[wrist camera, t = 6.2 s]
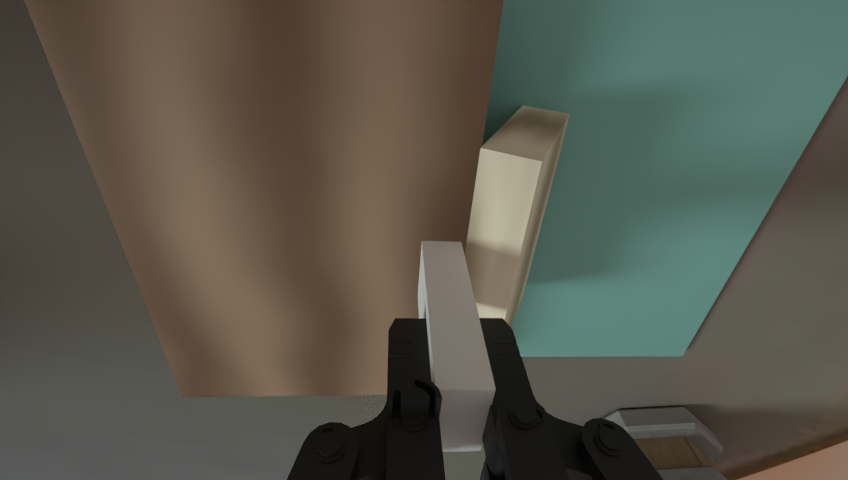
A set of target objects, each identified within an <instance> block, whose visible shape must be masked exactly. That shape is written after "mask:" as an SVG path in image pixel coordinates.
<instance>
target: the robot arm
mask: <svg viewBox="0 0 848 480" xmlns="http://www.w3.org/2000/svg"><path fill="white" fill-rule="evenodd" d="M418 311H419V318H395V320H394V321H393V323H392V325H391V327H390V328H389V333H388V372H387V402H386V405H385V407H384V409H383V410H382V412H381V413H380V414H379V415H378V416H377V417H376V418H374V419H373V420H371V421H369V422H367V423H365V424H362V425H359V426H356V427H353V428H350V427H349V426H347V425H344V424H342V423H331V422H330V423H327V424H324V425H320V426H318V427H317V428H316V429H314V430H313V431H312V432H310V434H309V435H308V437H307V438H306V439H305V441H304V443H303V445H302V447H301V449H300V452H299V454H298V456H297V458H296V461H295V463H294V465H293V467H292V469H291V472H290V474H289V476H288V478H287V480H445V472H444V462H443V452H444V451H481V447H482V443H483V444H484V449H485V455H486V458H485V462H484V466H483V470H482V473H481V477H480V480H663V479H662V477H661V476H660V475H659V473H658V472H657V470H656V469H655V468H654V466H653V465H652V464H651V462H650V461H649V460H648V458H647V457H646V456H645V454H644V453H643V452H642V450H641V449H640V448H639V446H638V445H637V444H636V442H635V441H634V440H633V438H632V437H631V436H630V435H629V434H628V433H627V431H626V430H625V429H624V428H623V427H621V426H619V425H618V424H616V423H614V422H613V421H610V420H606V419H603V418H599V419H592V420H590V421H588V422H586V423H585V425H584V427H583V426H580V425H576V424H573V423H569V422H566V421H563V420H560V419H557V418H555V417H553V416H551V415H550V414H548V413H547V412H546V411H545V409H544V408H543V407H542V406H541V405H540V404H539V403H538V402H537V401H536V400H535V397H534V395H533V392H532V389H531V386H530V383H529V380H528V377H527V374H526V370H525V367H524V364H523V361H522V358H521V356H520V351H519V348H518V345H517V342H516V339H515V336H514V333H513V330H512V328H511V327H510V326H509V325H508V324H507V323H506V321H505V320H504V319H503V318H479V315H478V311H477V306H476V302H475V298H474V294H473V289H472V285H471V281H470V277H469V272H468V268H467V264H466V259H465V255H464V251H463V247H462V242H451V241H422V244H421V257H420V271H419V284H418Z"/></svg>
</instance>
